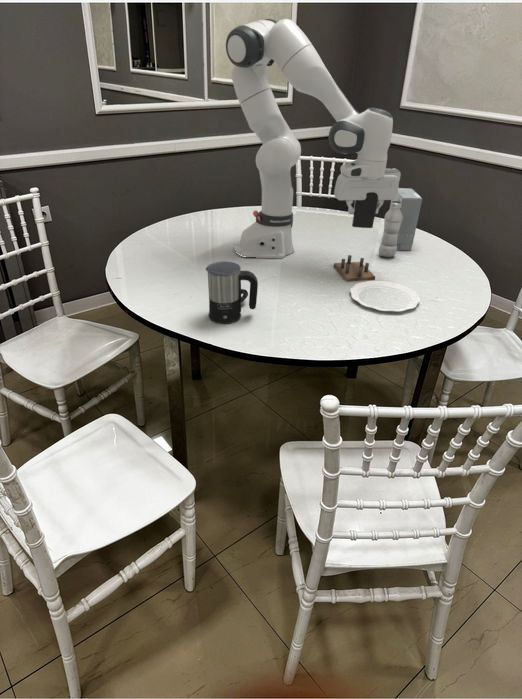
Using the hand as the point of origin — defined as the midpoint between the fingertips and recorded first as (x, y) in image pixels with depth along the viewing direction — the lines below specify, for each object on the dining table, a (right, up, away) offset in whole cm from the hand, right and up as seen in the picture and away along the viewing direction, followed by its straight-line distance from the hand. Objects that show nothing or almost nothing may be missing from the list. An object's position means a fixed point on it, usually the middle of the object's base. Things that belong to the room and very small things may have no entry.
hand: (362, 213), depth 151 cm
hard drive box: (+22, -2, +36) cm, 42 cm away
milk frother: (-42, -32, -14) cm, 55 cm away
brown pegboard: (-1, -17, +11) cm, 20 cm away
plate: (+5, -28, -5) cm, 29 cm away
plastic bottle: (+14, -9, +25) cm, 30 cm away
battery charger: (0, -4, +2) cm, 4 cm away
